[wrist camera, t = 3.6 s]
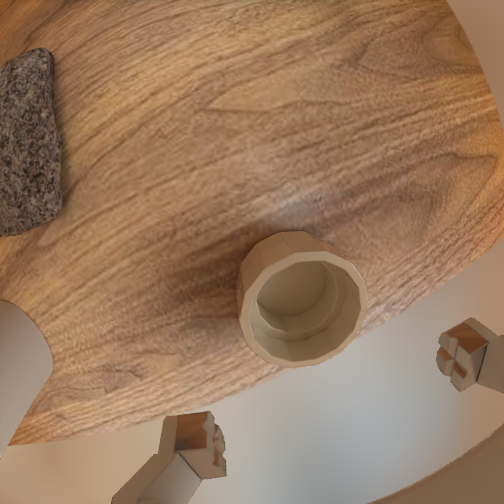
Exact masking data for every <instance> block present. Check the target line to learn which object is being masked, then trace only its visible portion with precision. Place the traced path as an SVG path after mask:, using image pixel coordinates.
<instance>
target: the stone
mask: <svg viewBox="0 0 504 504" xmlns="http://www.w3.org/2000/svg"><path fill="white" fill-rule="evenodd" d="M53 76H54V58H53V55H52V53H51V52H50V51H48V50H47V49H45V48H42V47H41V48H36V49H32V50H29V51H26V52H24V53H22V54H21V55H20V56H19V57H18V58H15V59H12V60H10V61H7V62H6V63H5V64H4V65H3V66H2V67H1V68H0V237H1V236H2V237H8V236H15V235H19V234H21V233H22V232H25V231H28V230H30V229H31V228H34V227H38V226H40V225H41V224H43V223H45V222H50V221H51V220H52V219H54V218H57V217H59V216H60V214H61V211H62V207H63V195H62V193H61V187H60V171H61V154H62V144H63V142H62V138H60V136H59V132H58V129H57V127H56V125H55V123H56V112H55V110H54V106H53V98H54V91H53Z"/></svg>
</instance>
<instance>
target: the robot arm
mask: <svg viewBox="0 0 504 504" xmlns="http://www.w3.org/2000/svg"><path fill="white" fill-rule="evenodd" d="M438 343H439V344H440V346H441V347H440V348H439V350H438V352H437V357H436V361H437V365H438V367H439V369H440V371H441V372H442V373H443V374H444V375H446V376H450V382H451V383H452V384H453V385H454V387H456V389H457V390H458V391H459V392H461V391H463V390H465V389H466V388H468V387H470V386H471V385H473V384H474V383H476V382H477V384H480V385H483V386H485V387H488V388H491V389H493V390H496V391H499V392H501V393H504V335H500V336H497V335H496V334H495V333H493V332H492V331H491V330H489V329H488V328H487V327H485V326H484V325H483V324H481V323H480V322H479V321H477V320H476V319H475V318H469V319H467V320H465V321H464V322H462V323H461V324H458V325H456V326H455V327H453V328H451V329H449V330H447V331H446V332H444V333H442V334H441V335H440V337H439V342H438ZM224 451H225V441H224V436H223V434H222V431H221V429H220V427H219V426H218V425H216V424H214V416H213V415H212V413H211V412H210V411H207V412H200V413H191V414H183V415H176V416H166V418H165V419H164V422H163V427H162V433H161V439H160V445H159V451H158V454H154V455H153V456H152V457H151V458H150V459H149V460H148V461H147V462H146V463H145V464H144V465H143V466H142V468H141V469H140V470H139V471H138V472H137V473H136V474H135V475H134V476H133V477H132V478H131V479H130V480H129V481H128V482H127V483H126V484H125V485H124V486H123V487H122V488H121V489H120V490H119V491H118V492H117V493H116V494H115V495H114V496H113V497H112V501H111V504H188V502H189V501H190V499H191V498H192V496H193V495H194V493H195V491H196V490H197V488H198V487H199V485H200V483H201V482H202V480H203V479H211V478H218V477H225V476H227V475H226V460H225V459H224V457H223V456H222V454H223V453H224ZM368 504H504V424H503V425H502V426H500V427H499V428H498V429H497V430H495V431H494V432H493V433H492V434H490V435H489V436H488V437H486V438H485V439H484V440H483V441H481V442H480V443H478V444H477V445H476V446H474V447H473V448H471V449H470V450H468V451H467V452H466V453H464V454H463V455H461V456H460V457H458V458H457V459H455V460H454V461H452V462H450V463H449V464H447V465H446V466H444V467H442V468H440V469H439V470H437V471H435V472H433V473H432V474H430V475H428V476H426V477H424V478H423V479H421V480H419V481H417V482H415V483H413V484H411V485H409V486H407V487H405V488H403V489H401V490H399V491H396V492H394V493H392V494H390V495H387V496H385V497H383V498H381V499H378V500H376V501H373V502H371V503H368Z"/></svg>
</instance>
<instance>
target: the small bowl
mask: <svg viewBox="0 0 504 504" xmlns="http://www.w3.org/2000/svg"><path fill="white" fill-rule="evenodd" d="M236 292H237V304H238V314H239V323H240V326H241V329H242V332H243V335H244V338H245V341H246V344H247V345H248V346H249V347H250V348H251V349H252V350H253V351H254V352H255V353H257V354H258V355H259V356H260V357H261V358H262V359H263V360H265V361H266V362H269V363H273V364H276V365H280V366H284V367H287V368H297V367H305V366H313V365H317V364H320V363H322V362H324V361H326V360H327V359H330V358H331V357H333V356H335V355H337V354H339V353H340V352H342V351H343V350H344V349H345V348H346V347H347V346H348V345H349V343H350V342H351V341H352V340H353V339H354V338H355V337H356V336H357V335H358V334H359V332H360V329H361V327H362V324H363V322H364V319H365V316H366V314H367V311H368V297H367V286H366V282H365V281H364V279H363V278H362V276H361V275H360V273H359V272H358V271H357V269H356V268H355V266H354V265H353V263H352V262H350V261H349V260H348V259H347V258H346V257H344V256H343V255H342V254H341V253H339V252H338V251H337V250H336V249H335V248H333V247H332V246H331V245H330V244H328V243H327V242H326V241H324V240H322V239H320V238H318V237H316V236H314V235H312V234H309V233H307V232H303V231H294V232H280V233H279V232H278V233H276V234H274V235H272V236H270V237H268V238H266V239H264V240H262V241H261V242H259V243H257V244H256V245H255V246H254V247H253V248H252V250H251V251H250V252H249V254H248V255H247V256H246V258H245V259H244V260H243V261H242V263H241V265H240V269H239V274H238V279H237V284H236Z"/></svg>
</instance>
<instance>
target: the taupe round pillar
mask: <svg viewBox="0 0 504 504" xmlns="http://www.w3.org/2000/svg"><path fill="white" fill-rule="evenodd" d="M52 370H53V358H52V354H51V351H50V348H49V346H48V343H47V341H46V340H45V338H44V336H43V334H42V333H41V331H40V330H39V328H38V327H37V326H36V324H35V323H34V322H33V321H32V320H31V318H30V317H29V316H28V315H27V314H26V313H24V312H23V311H22V310H21V309H20V308H18V307H17V306H15V305H13V304H12V303H9V302H7V301H3V300H0V459H1V457H2V455H3V453H4V451H5V449H6V447H7V446H8V444H9V442H10V440H11V438H12V437H13V435H14V433H15V431H16V429H17V428H18V426H19V424H20V423H21V421H22V419H23V418H24V416H25V414H26V413H27V411H28V409H29V408H30V406H31V404H32V403H33V401H34V400H35V398H36V396H37V395H38V393H39V392H40V390H41V389H42V387H43V386H44V384H45V383H46V381H47V380H48V378H49V377H50V375H51V373H52Z"/></svg>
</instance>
